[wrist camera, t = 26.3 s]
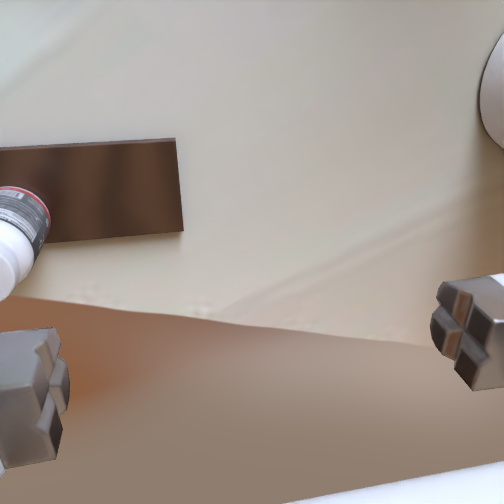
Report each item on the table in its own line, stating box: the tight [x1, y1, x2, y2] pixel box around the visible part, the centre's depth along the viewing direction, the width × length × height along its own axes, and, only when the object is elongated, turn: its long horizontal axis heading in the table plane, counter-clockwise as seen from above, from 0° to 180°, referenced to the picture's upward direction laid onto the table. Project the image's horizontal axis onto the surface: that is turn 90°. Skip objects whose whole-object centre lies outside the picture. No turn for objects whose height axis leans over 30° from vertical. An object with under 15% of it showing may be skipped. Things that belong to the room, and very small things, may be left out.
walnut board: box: [0, 138, 184, 243], centre depth 38 cm, size 20×8×1 cm, turn 90°
